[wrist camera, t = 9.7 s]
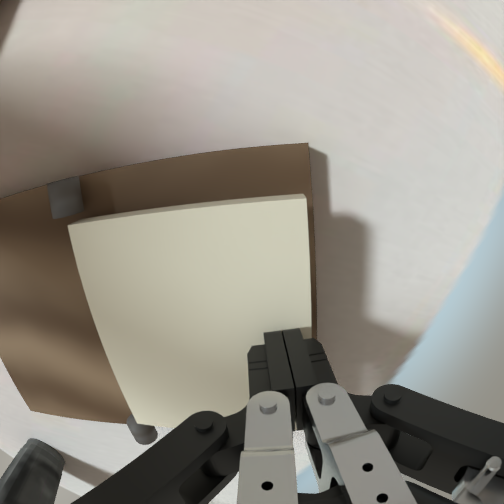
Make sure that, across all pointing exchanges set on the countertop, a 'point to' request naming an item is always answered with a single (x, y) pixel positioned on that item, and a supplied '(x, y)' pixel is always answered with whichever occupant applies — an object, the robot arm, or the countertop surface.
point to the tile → (193, 297)
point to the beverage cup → (32, 475)
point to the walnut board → (68, 278)
